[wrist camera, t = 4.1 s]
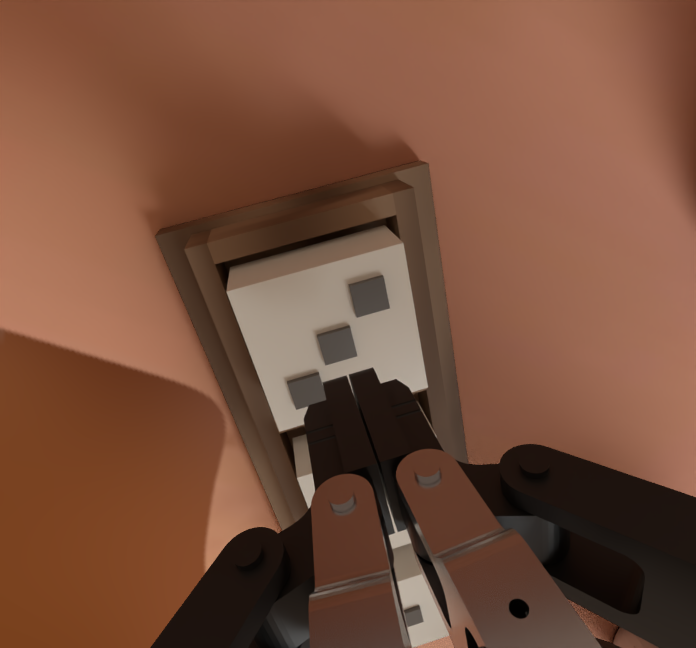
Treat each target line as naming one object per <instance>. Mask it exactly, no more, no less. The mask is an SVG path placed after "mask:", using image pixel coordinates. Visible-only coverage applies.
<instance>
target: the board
mask: <svg viewBox="0 0 696 648" xmlns="http://www.w3.org/2000/svg"><path fill="white" fill-rule="evenodd" d="M383 225H385V226H386V227H387V228H388V229H389V230H390V231H391V232H392V233H393V234H395V235H396V236H397V237H398V238H399V239H400V240H401V241H402V242H403V244H404V249H405V255H406V261H407V267H408V273H409V279H410V285H411V290H412V296H413V302H414V308H415V314H416V320H417V326H418V332H419V337H420V343H421V349H422V355H423V361H424V367H425V373H426V378H427V384H428V388H425V389H421V390H418V391H415V392H412V394H413V396H414V398H415V400H416V401H418V403H419V405H420V407H421V408H422V410H423V412H424V414H425V416H426V418H427V419H428V421H429V423H430V425H431V427H432V429H433V430H434V432H435V434H436V437H437V440H438V442H439V443H440V445H441V447H442V449H443V450H444V451H445V452H446V453H448V454H450V455H451V456H452V457H453V458H454V459H455V460H457V461H460V462H463V463H467V464H468V458H467V451H466V443H465V436H464V428H463V421H462V413H461V405H460V398H459V390H458V383H457V375H456V368H455V360H454V353H453V345H452V338H451V330H450V323H449V315H448V307H447V300H446V292H445V285H444V277H443V270H442V262H441V255H440V247H439V240H438V232H437V224H436V217H435V209H434V202H433V194H432V187H431V179H430V172H429V164H428V163H426V162H423V161H417V162H413V163H409V164H405V165H402V166H398V167H394V168H390V169H386V170H383V171H379V172H375V173H371V174H368V175H364V176H360V177H356V178H353V179H349V180H345V181H341V182H337V183H334V184H330V185H326V186H322V187H319V188H315V189H311V190H307V191H304V192H300V193H296V194H292V195H288V196H285V197H281V198H277V199H273V200H270V201H266V202H262V203H258V204H255V205H251V206H247V207H243V208H239V209H236V210H232V211H228V212H224V213H221V214H217V215H213V216H209V217H206V218H202V219H198V220H194V221H190V222H187V223H183V224H179V225H175V226H172V227H168V228H164V229H160V230H159V231H158V233H157V234H156V235H155V237H156V240H157V242H158V244H159V247H160V249H161V251H162V254H163V256H164V258H165V260H166V263H167V265H168V267H169V270H170V272H171V274H172V277H173V279H174V281H175V284H176V286H177V288H178V291H179V293H180V295H181V298H182V300H183V302H184V304H185V307H186V309H187V311H188V314H189V316H190V318H191V321H192V323H193V325H194V328H195V330H196V332H197V335H198V337H199V339H200V341H201V344H202V346H203V348H204V351H205V353H206V355H207V358H208V360H209V362H210V365H211V367H212V369H213V372H214V374H215V376H216V379H217V381H218V383H219V385H220V388H221V390H222V392H223V395H224V397H225V399H226V402H227V404H228V406H229V409H230V411H231V413H232V416H233V418H234V420H235V423H236V425H237V427H238V429H239V432H240V434H241V436H242V439H243V441H244V443H245V446H246V448H247V450H248V453H249V455H250V457H251V460H252V462H253V464H254V466H255V469H256V471H257V473H258V476H259V478H260V480H261V483H262V485H263V487H264V490H265V492H266V494H267V497H268V499H269V501H270V504H271V506H272V508H273V510H274V513H275V515H276V517H277V520H278V522H279V524H280V527H281V529H282V531H283V530H285V529H286V528H288V527H289V526H291V525H292V524H294V523H295V522H297V521H298V520H299V519H300V518H301V517H302V516H303V515H304V514H305V513H306V512H307V511H308V506H307V503H306V501H305V498H304V496H303V493H302V490H301V488H300V485H299V482H298V480H297V475H296V466H295V457H294V448H293V439H292V438H295V437H298V436H302V435H305V434H306V431H305V425H301V426H297V427H294V428H291V429H287V430H284V431H280V432H279V430H278V427H277V424H276V422H275V419H274V416H273V414H272V411H271V408H270V406H269V403H268V400H267V398H266V395H265V393H264V390H263V387H262V385H261V382H260V379H259V377H258V374H257V371H256V369H255V366H254V364H253V361H252V358H251V356H250V353H249V350H248V348H247V345H246V342H245V340H244V337H243V335H242V332H241V329H240V327H239V324H238V321H237V319H236V316H235V313H234V311H233V308H232V305H231V303H230V300H229V298H228V295H227V292H226V291H227V284H228V278H229V271H230V267H233V266H236V265H240V264H244V263H247V262H251V261H255V260H258V259H262V258H265V257H269V256H273V255H276V254H280V253H284V252H287V251H291V250H295V249H298V248H302V247H306V246H309V245H313V244H317V243H320V242H324V241H328V240H331V239H335V238H339V237H342V236H346V235H350V234H353V233H357V232H361V231H364V230H368V229H372V228H375V227H379V226H383Z"/></svg>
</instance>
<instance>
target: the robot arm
mask: <svg viewBox="0 0 696 648" xmlns="http://www.w3.org/2000/svg"><path fill="white" fill-rule="evenodd" d="M349 379H350V382H351V386H352V389H351V386H350V383H349V380H348V377H347V375H346V376H342V377H339V378H336V379H332V380H329V381H325V382H322V383H323V388H324V392H325V396H326V400H324V401H321V402H317V403H314V404H311V405H309V406H308V409H307V411H306V414H305V416H304V425H305V431H306V437H307V443H308V449H309V456H310V462H311V468H312V474H313V480H314V486H315V493H314V495H313V497H312V501H311V506H310V508H309V509H308V511H307V512H306V513H305V514H304V515H303V516H302V517H301V518H300V519H299V520H298V521H297V522H295V523H294V524H292V525H291V526H289V527H288V528H286V529H285V530H283V531H281V532H280V533H277V532H275V531H274V530H272V529H270V528H265V527H257V528H252V529H248V530H246V531H244V532H242V533H240V534H238V535H237V536H236V537H234V538H233V539H232V540H231V541H230V542H229V543H228V544H227V545H226V546H225V547H224V549H223V550H222V551H221V553H220V554H219V555H218V557H217V558H216V560H215V561H214V562H213V564H212V565H211V566H210V568H209V569H208V570H207V572H206V573H205V574H204V576H203V577H202V578H201V580H200V581H199V583H198V584H197V585H196V587H195V588H194V589H193V591H192V592H191V594H190V595H189V596H188V598H187V599H186V600H185V601H184V603H183V604H182V606H181V607H180V608H179V610H178V611H177V612H176V614H175V615H174V617H173V618H172V619H171V620H170V622H169V623H168V624H167V626H166V627H165V629H164V630H163V631H162V633H161V634H160V635H159V637H158V638H157V639H156V641H155V642H154V644H153V645H152V646H151V648H412V645H411V641H410V636H409V632H408V627H407V623H406V618H405V613H404V609H403V604H402V600H401V595H400V591H399V586H398V582H397V577H396V573H395V568H394V565H393V564H394V554H393V550H392V546H391V542H390V539H389V535H391V534H394V533H395V531H394V527H393V523H392V519H391V515H390V511H391V514H392V517H393V520H394V523H395V525H396V528H397V531H398V532H400V531H403V530H406V529H407V532H408V535H409V537H410V540H411V543H412V547H413V551H414V555H415V559H416V562H417V564H418V566H419V568H420V571H421V573H422V575H423V577H424V580H425V582H426V584H427V586H428V589H429V591H430V593H431V595H432V597H433V600H434V602H435V604H436V606H437V609H438V611H439V613H440V615H441V618H442V620H443V622H444V624H445V626H446V629H447V631H448V633H449V636H450V638H451V640H452V643H453V646H454V648H696V497H693V496H690V495H687V494H684V493H681V492H679V491H676V490H673V489H670V488H667V487H664V486H661V485H658V484H655V483H652V482H649V481H646V480H643V479H640V478H637V477H634V476H631V475H628V474H626V473H623V472H620V471H617V470H614V469H611V468H608V467H605V466H602V465H599V464H596V463H593V462H590V461H587V460H584V459H581V458H578V457H575V456H572V455H570V454H567V453H564V452H561V451H558V450H555V449H552V448H549V447H546V446H542V445H536V444H525V445H520V446H516V447H513V448H512V449H510V450H508V451H507V452H506V453H505V454H504V455H503V456H502V458H501V460H500V464H487V465H473V464H467V463H463V462H460V461H457V460H455V459H454V458H453V457H452V456H451V455H450V454H448V453H446V452H445V451H444V450H443V449H442V447H441V445H440V443H439V442H438V440H437V438H436V436H435V434H434V432H433V431H432V429H431V427H430V425H429V423H428V421H427V420H426V418H425V416H424V414H423V412H422V411H421V409H420V407H419V405H418V403H417V401H416V400H415V398H414V396H413V394H412V392H411V390H410V388H409V387H408V386H406V385H405V384H403V383H402V382H400V381H398V380H397V379H394V380H391V381H387V382H384V383H380V381H379V379H378V377H377V374H376V372H375V370H374V368H373V367H372V368H369V369H366V370H362V371H359V372H355V373H352V374H349ZM352 390H353V392H352ZM353 394H354V395H353ZM386 499H387V500H386ZM387 502H388V504H387ZM388 505H389V508H390V511H389V508H388ZM567 599H569V600H571V601H573V602H575V603H576V604H578V605H580V606H582V607H584V608H586V609H588V610H589V611H591V612H593V613H595V614H597V615H599V616H601V617H603V618H604V619H606V620H608V621H610V622H612V623H614V624H616V625H617V626H619V627H620V628H619V630H618V632H617V633H616V635H615V639H614V644H613V643H610V642H607V641H604V640H601V639H598V638H595V637H594V636H593V635H592V633H591V632H590V630H589V629H588V628H587V626H586V625H585V623H584V622H583V621H582V619H581V618H580V617H579V615H578V614H577V612H576V611H575V610H574V608H573V607H572V605H571V604H570V603H569V601H568V600H567Z"/></svg>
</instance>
